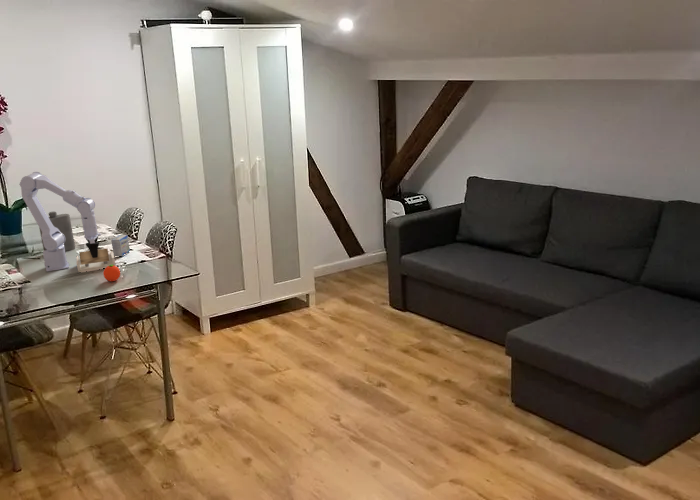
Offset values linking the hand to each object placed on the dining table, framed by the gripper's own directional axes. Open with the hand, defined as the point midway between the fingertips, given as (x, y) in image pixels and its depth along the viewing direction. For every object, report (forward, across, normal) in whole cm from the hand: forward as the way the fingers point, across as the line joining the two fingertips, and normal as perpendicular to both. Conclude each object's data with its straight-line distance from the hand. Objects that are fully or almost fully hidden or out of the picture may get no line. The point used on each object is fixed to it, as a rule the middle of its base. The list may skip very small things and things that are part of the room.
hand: (94, 254), depth 316 cm
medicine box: (+6, +12, -12) cm, 18 cm away
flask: (+6, +32, +16) cm, 37 cm away
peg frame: (+6, 0, 0) cm, 6 cm away
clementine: (+6, -23, -6) cm, 24 cm away
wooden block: (+2, 0, 0) cm, 2 cm away
